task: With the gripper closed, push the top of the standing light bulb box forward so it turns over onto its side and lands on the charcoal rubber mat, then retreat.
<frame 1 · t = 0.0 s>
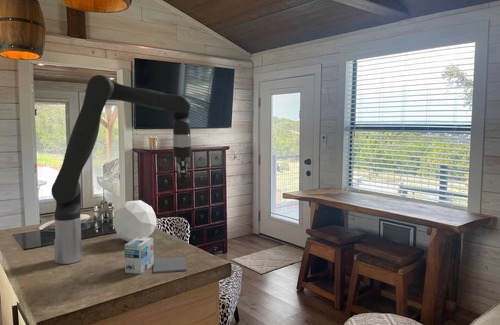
hand: (182, 184, 163), 29 cm above the kitchen island, fingers open, 8 cm apart
ball: (135, 241, 182), on the kitchen island
light bulb box: (139, 269, 147), on the kitchen island
mat: (169, 265, 151), on the kitchen island
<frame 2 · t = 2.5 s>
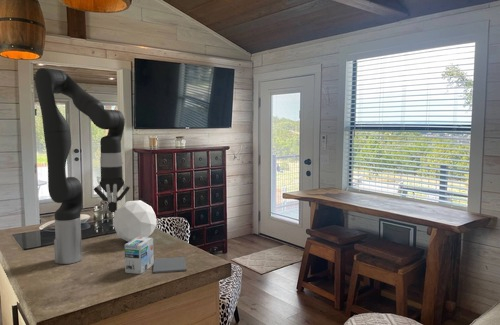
hand: (113, 211, 143), 22 cm above the kitchen island, fingers closed
nothing on the kitchen island moved.
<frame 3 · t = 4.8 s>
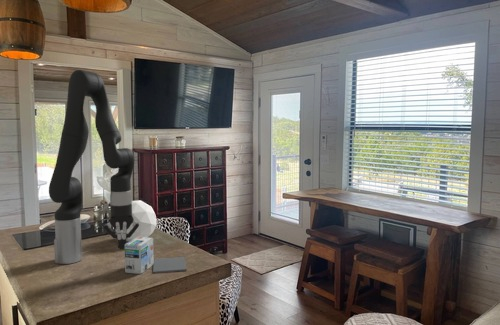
hand: (122, 248, 145), 8 cm above the kitchen island, fingers closed
light bulb box: (139, 269, 147), on the kitchen island, touching gripper
everything else where it was.
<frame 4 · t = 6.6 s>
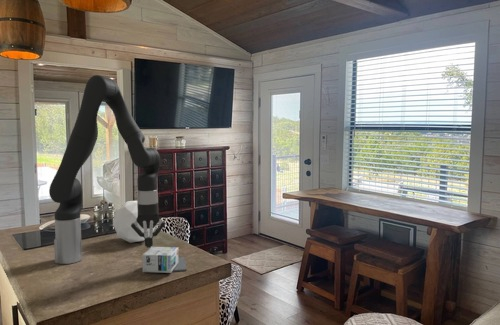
hand: (148, 247, 147), 8 cm above the kitchen island, fingers closed
light bulb box: (146, 258, 146), point 4 cm above the kitchen island, touching mat
everything else where it was.
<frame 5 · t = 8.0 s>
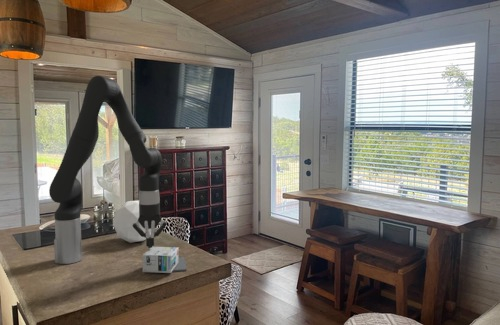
hand: (150, 247, 147), 8 cm above the kitchen island, fingers closed
nothing on the kitchen island moved.
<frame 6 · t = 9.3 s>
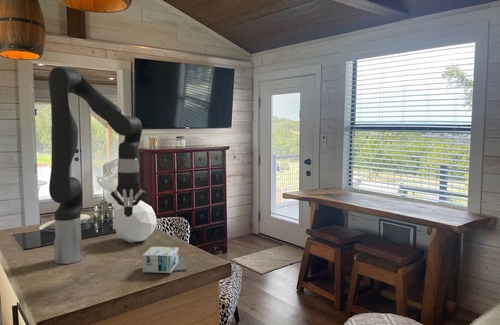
hand: (128, 216, 146), 20 cm above the kitchen island, fingers closed
nothing on the kitchen island moved.
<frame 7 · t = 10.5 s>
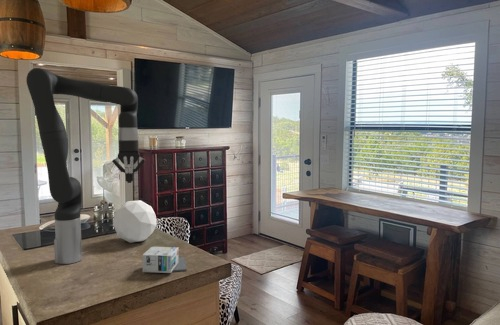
hand: (129, 182, 156), 31 cm above the kitchen island, fingers closed
nothing on the kitchen island moved.
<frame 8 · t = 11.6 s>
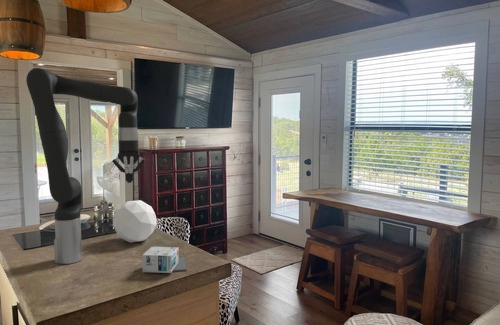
hand: (129, 182, 156), 31 cm above the kitchen island, fingers closed
nothing on the kitchen island moved.
at the end: light bulb box tilted 91°; light bulb box inside the target area (8.2 cm from its centre), point 4.0 cm above the kitchen island; the gripper is holding nothing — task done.
